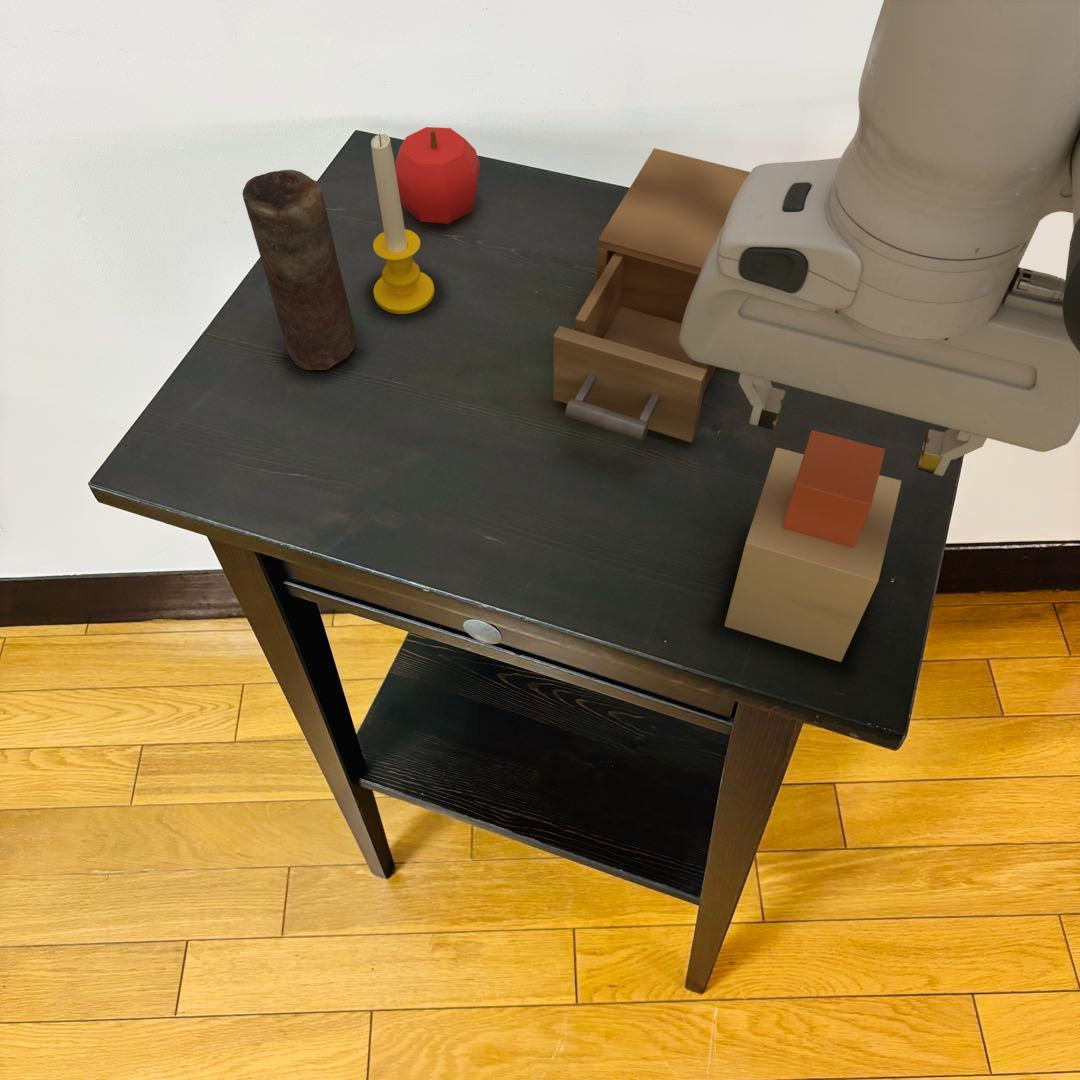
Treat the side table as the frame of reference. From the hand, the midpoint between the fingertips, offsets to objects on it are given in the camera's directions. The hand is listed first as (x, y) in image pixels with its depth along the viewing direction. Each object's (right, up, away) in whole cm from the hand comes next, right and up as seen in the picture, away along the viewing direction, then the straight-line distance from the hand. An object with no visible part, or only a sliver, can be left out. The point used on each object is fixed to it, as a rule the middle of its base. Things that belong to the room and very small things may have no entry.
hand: (846, 441), depth 60 cm
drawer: (-10, +6, +24) cm, 26 cm away
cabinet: (-4, +16, +31) cm, 35 cm away
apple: (-26, +25, +38) cm, 53 cm away
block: (0, -4, +5) cm, 7 cm away
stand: (0, -9, +14) cm, 17 cm away
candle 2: (-29, +16, +32) cm, 46 cm away
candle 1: (-35, +10, +28) cm, 46 cm away
